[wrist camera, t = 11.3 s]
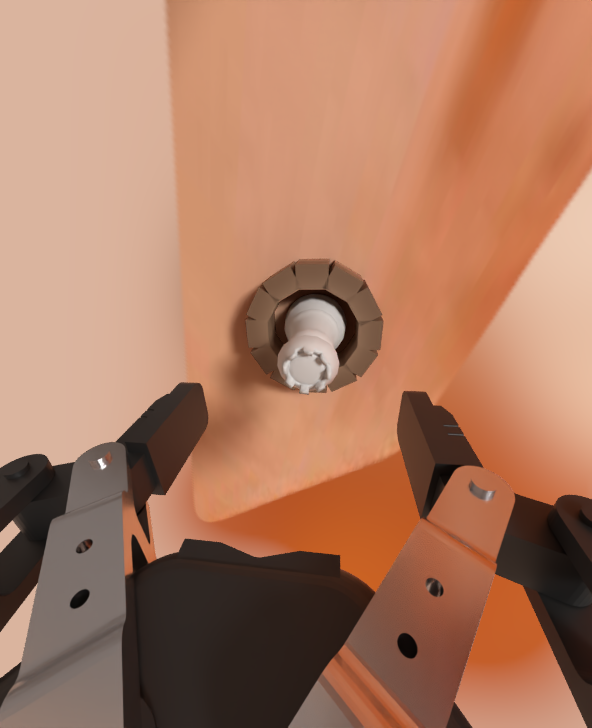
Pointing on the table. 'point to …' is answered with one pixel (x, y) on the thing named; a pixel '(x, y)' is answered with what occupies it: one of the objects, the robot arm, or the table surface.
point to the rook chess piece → (311, 343)
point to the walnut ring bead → (315, 278)
